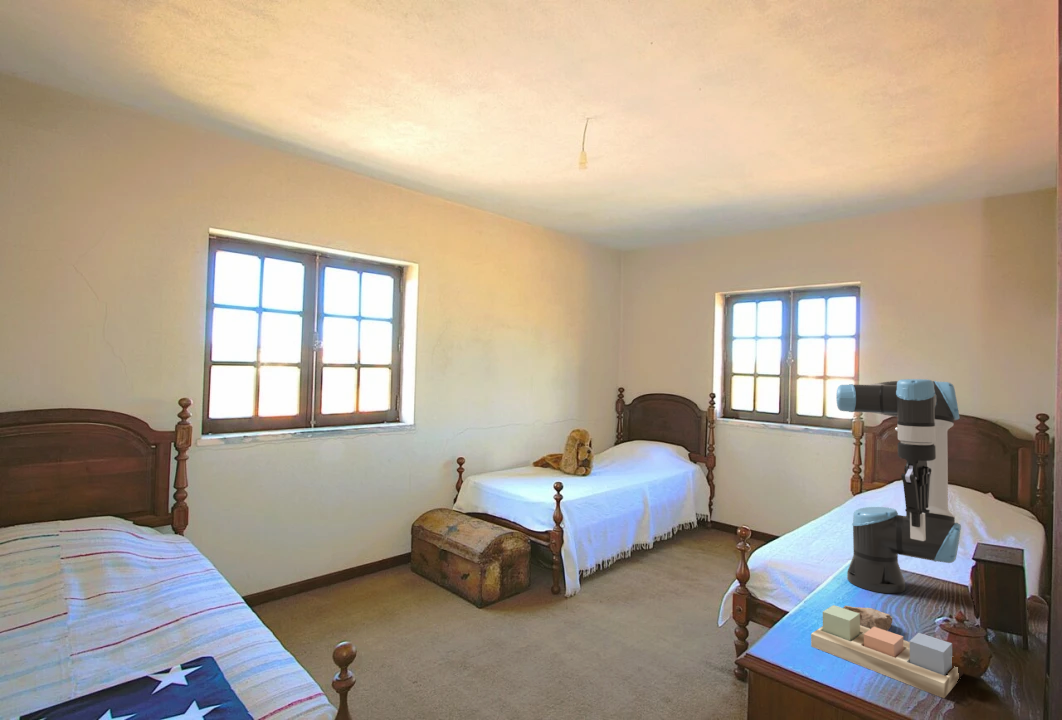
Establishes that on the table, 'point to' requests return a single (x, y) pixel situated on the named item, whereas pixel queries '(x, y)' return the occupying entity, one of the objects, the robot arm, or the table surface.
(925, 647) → the slate block
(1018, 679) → the table surface
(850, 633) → the sage block
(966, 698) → the table surface
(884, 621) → the stone
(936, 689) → the socket board
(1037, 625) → the table surface
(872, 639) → the terracotta block
